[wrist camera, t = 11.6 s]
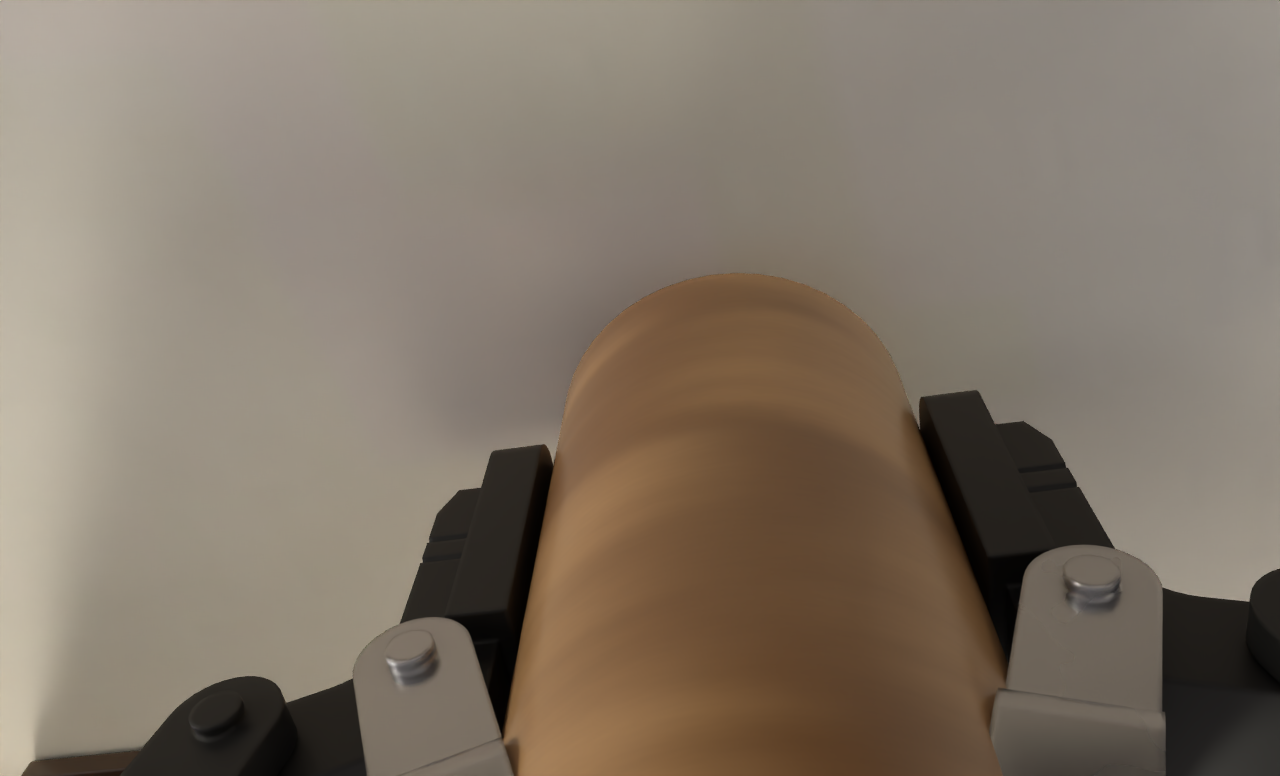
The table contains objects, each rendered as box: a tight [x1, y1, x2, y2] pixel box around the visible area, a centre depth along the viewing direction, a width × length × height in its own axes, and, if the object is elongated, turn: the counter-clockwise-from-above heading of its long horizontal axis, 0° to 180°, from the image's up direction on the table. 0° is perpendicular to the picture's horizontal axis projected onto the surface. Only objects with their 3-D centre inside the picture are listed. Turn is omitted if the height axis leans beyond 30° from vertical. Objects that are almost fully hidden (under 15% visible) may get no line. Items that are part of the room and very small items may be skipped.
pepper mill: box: [501, 273, 1009, 776], centre depth 12 cm, size 5×5×10 cm
